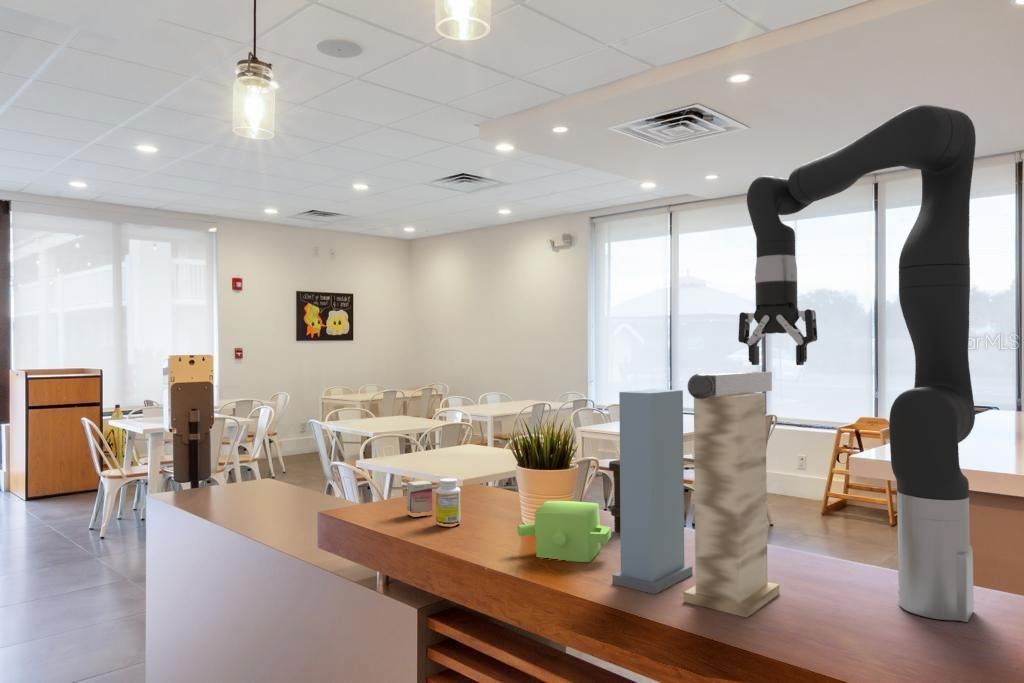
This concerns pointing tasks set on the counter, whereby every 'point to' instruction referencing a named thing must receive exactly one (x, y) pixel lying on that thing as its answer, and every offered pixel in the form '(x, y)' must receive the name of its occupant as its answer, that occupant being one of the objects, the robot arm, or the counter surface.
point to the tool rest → (731, 505)
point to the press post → (651, 490)
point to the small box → (419, 496)
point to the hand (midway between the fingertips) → (777, 365)
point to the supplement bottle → (448, 502)
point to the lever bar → (729, 384)
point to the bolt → (616, 493)
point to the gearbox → (567, 530)
